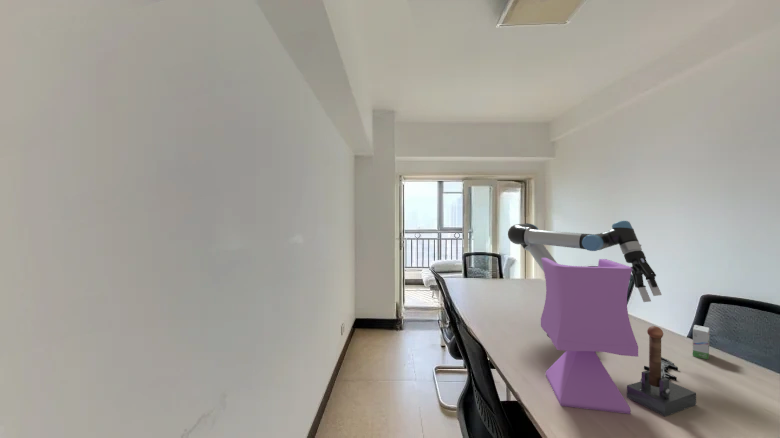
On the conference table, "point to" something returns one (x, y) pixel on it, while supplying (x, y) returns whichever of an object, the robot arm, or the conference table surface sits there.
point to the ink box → (701, 342)
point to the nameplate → (664, 367)
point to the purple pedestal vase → (587, 331)
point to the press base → (661, 395)
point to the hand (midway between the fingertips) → (652, 298)
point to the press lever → (655, 355)
